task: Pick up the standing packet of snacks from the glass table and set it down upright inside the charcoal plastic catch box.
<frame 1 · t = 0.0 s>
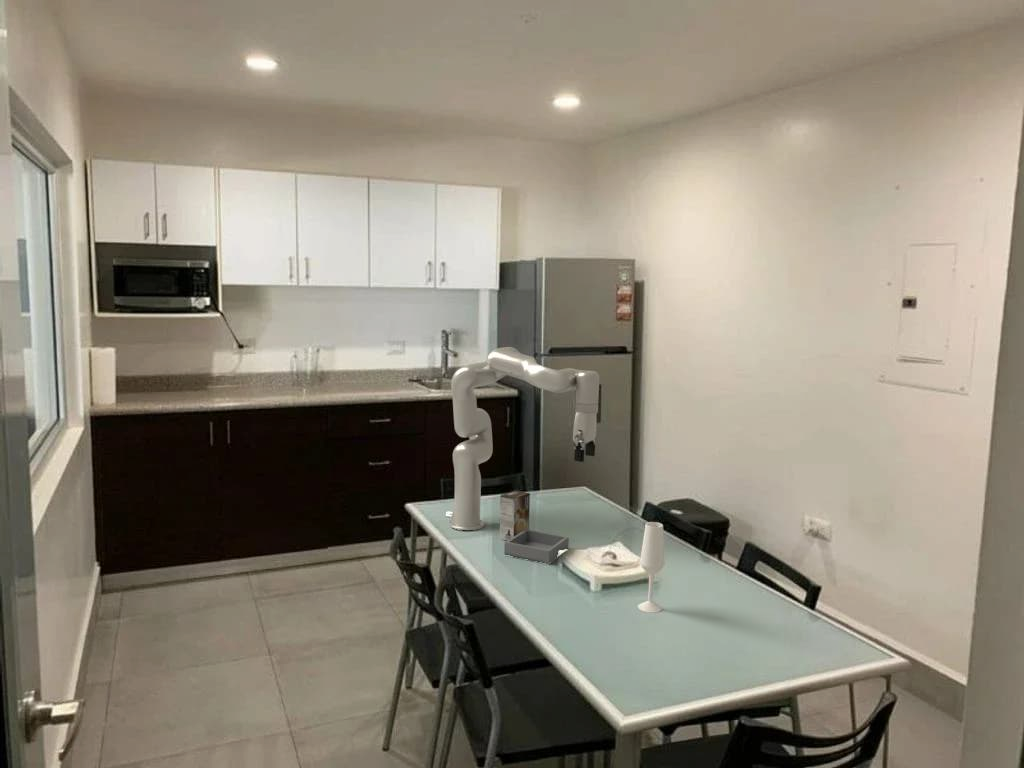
hand: (584, 458, 259), 31 cm above the table, tool pointing down, fingers open, 9 cm apart
champagne flute: (649, 608, 216), on the table
coffee box: (514, 538, 271), on the table
catch box: (536, 552, 257), on the table
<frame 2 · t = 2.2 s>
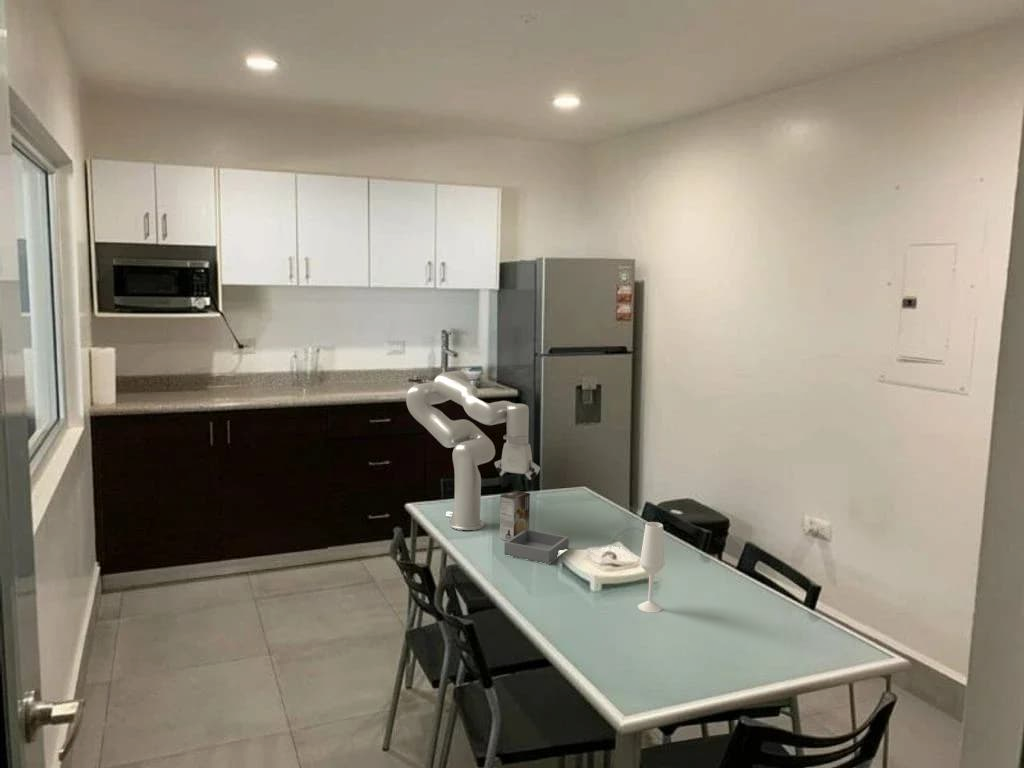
hand: (516, 488, 268), 18 cm above the table, tool pointing down, fingers open, 9 cm apart
nothing on the table moved.
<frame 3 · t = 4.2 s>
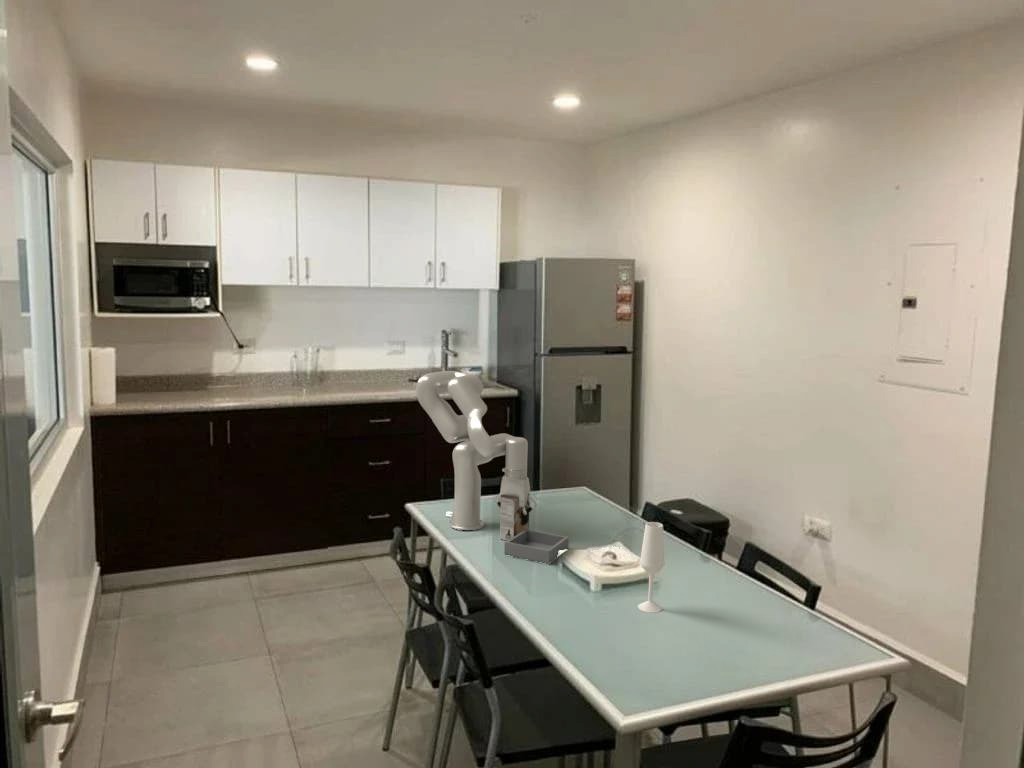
hand: (514, 522, 270), 6 cm above the table, tool pointing down, fingers closed on coffee box, 7 cm apart
coffee box: (514, 538, 271), on the table, touching gripper
everything else where it was.
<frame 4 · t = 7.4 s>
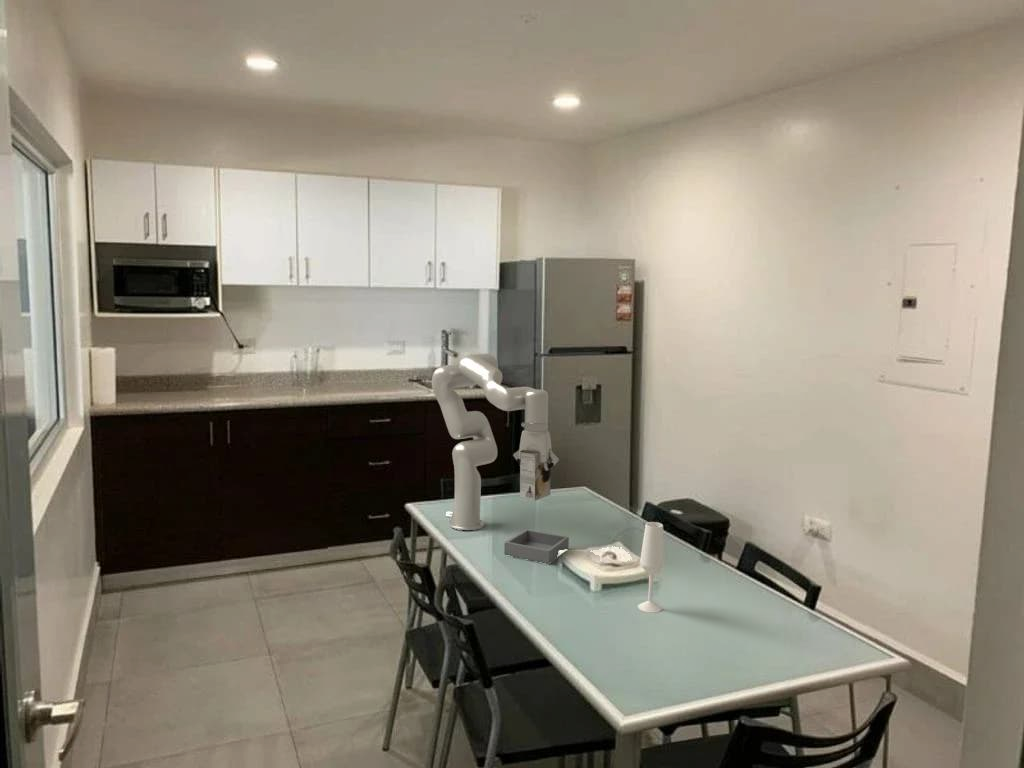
hand: (535, 479, 256), 24 cm above the table, tool pointing down, fingers closed on coffee box, 7 cm apart
coffee box: (535, 497, 257), point 18 cm above the table, touching gripper
everything else where it was.
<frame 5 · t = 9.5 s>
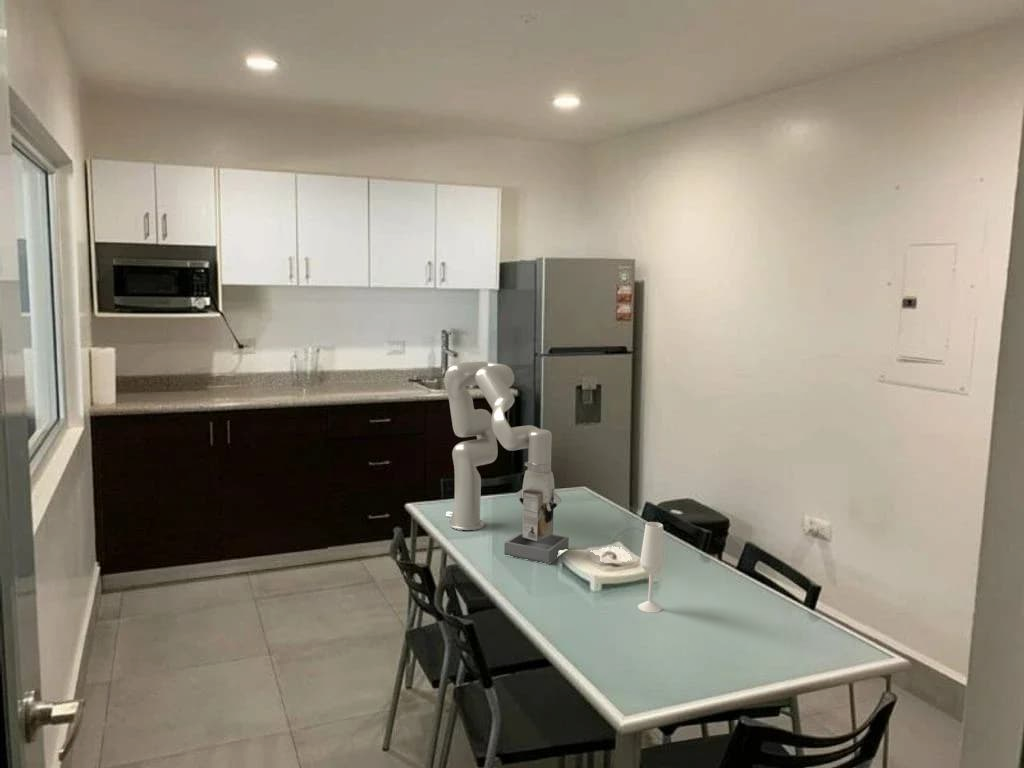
hand: (538, 519, 255), 11 cm above the table, tool pointing down, fingers closed on coffee box, 7 cm apart
coffee box: (537, 536, 256), point 6 cm above the table, touching gripper
everything else where it was.
when the fingers open (9 cm above the table, at t = 11.0 s): coffee box drops 2 cm, resting on catch box.
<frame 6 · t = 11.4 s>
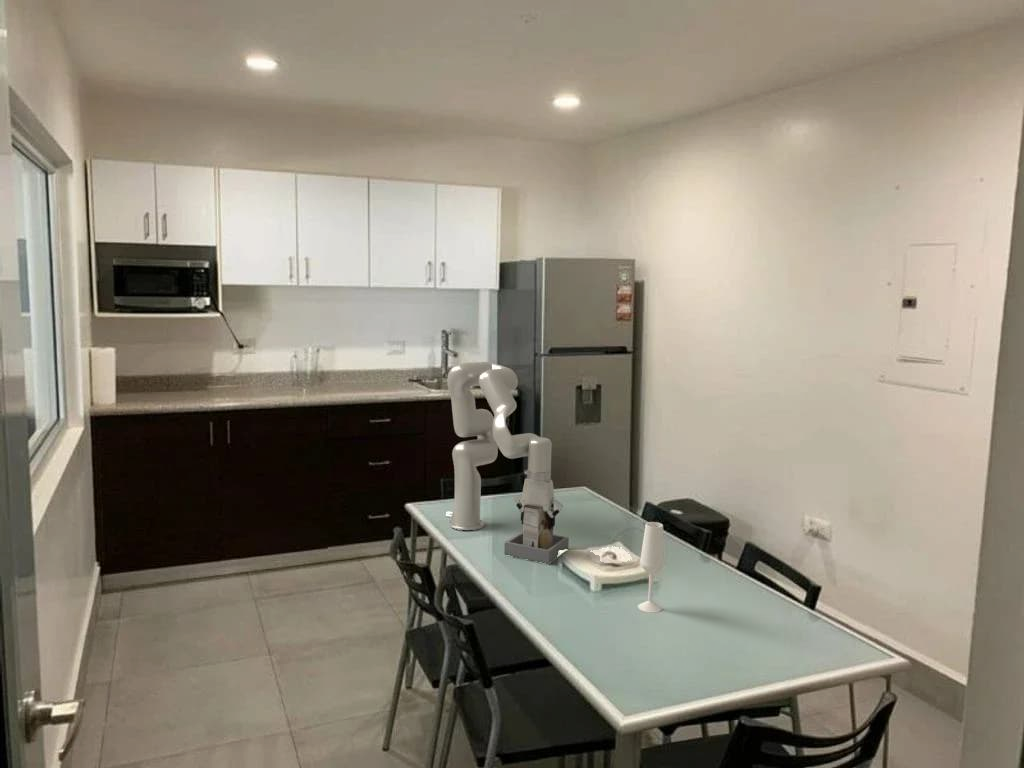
hand: (537, 525, 256), 9 cm above the table, tool pointing down, fingers open, 9 cm apart
coffee box: (537, 550, 257), point 1 cm above the table, touching catch box
everything else where it was.
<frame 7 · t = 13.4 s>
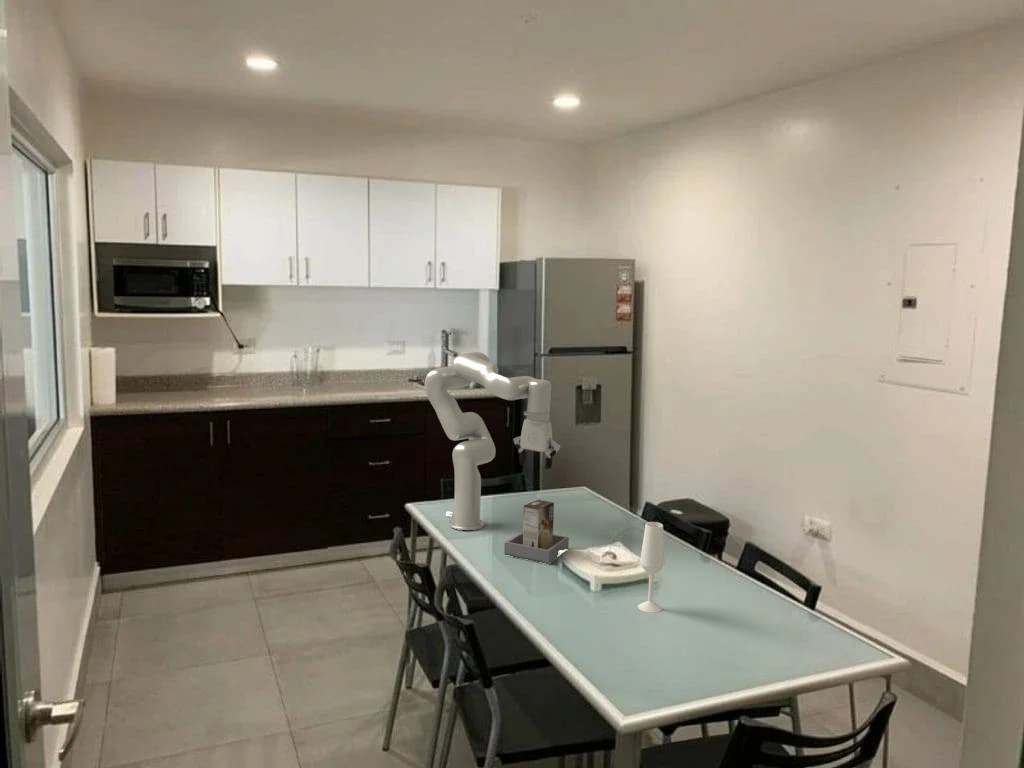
hand: (535, 466, 261), 28 cm above the table, tool pointing down, fingers open, 9 cm apart
nothing on the table moved.
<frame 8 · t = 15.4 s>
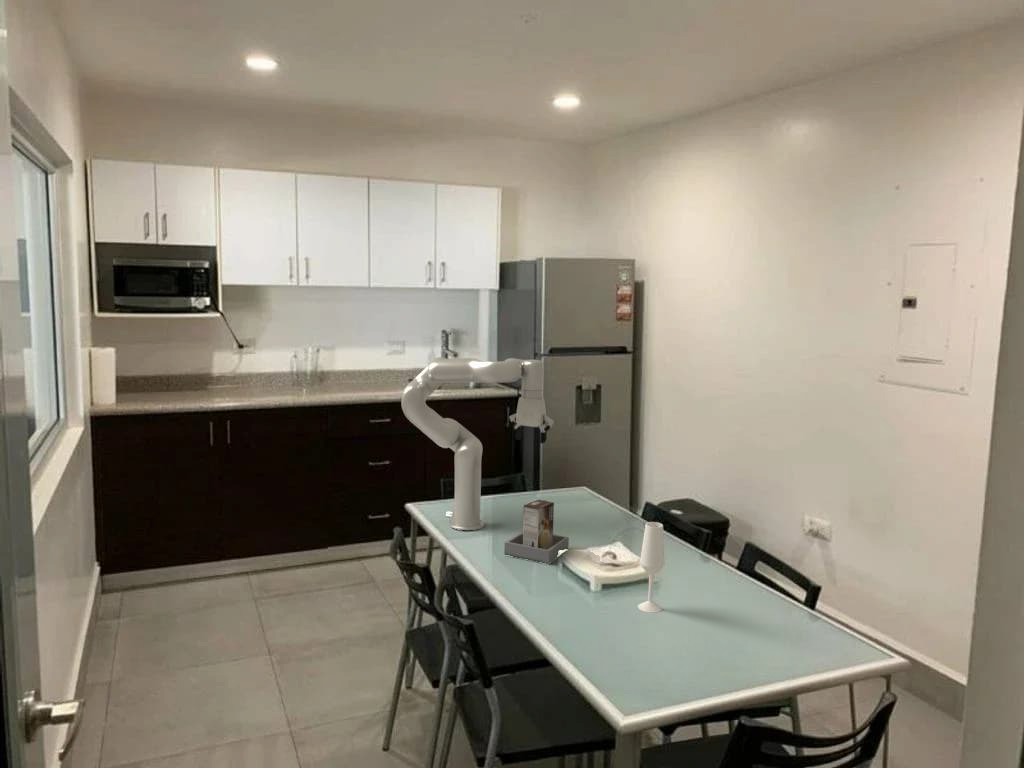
hand: (530, 441, 278), 32 cm above the table, tool pointing down, fingers open, 9 cm apart
nothing on the table moved.
at the end: coffee box inside the target area on the catch box (0.3 cm from its centre), point 0.6 cm above the catch box's base; coffee box tilted 0°; the gripper is holding nothing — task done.
